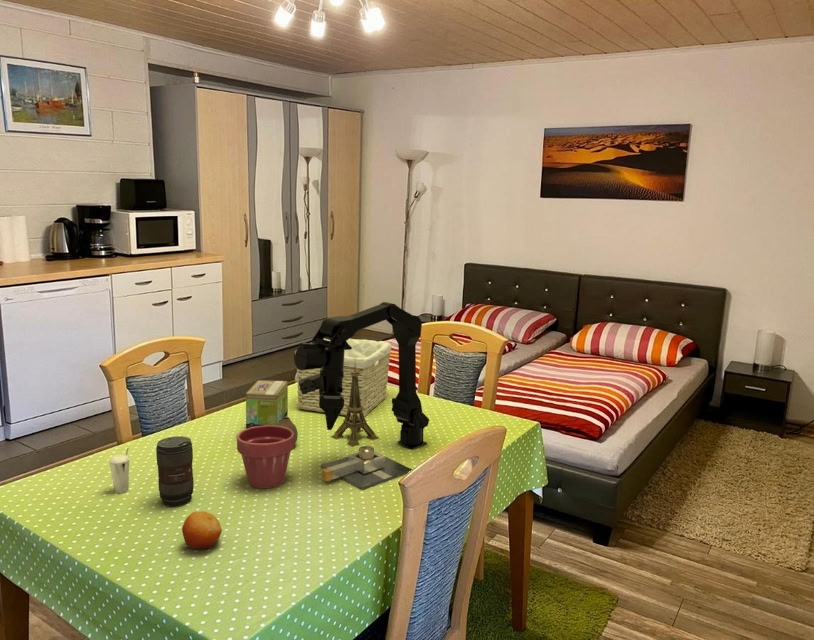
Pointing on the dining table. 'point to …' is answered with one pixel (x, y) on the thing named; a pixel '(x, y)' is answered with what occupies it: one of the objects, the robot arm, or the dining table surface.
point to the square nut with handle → (353, 466)
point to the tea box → (266, 403)
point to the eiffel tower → (354, 416)
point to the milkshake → (120, 472)
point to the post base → (373, 477)
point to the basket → (371, 380)
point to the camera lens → (175, 470)
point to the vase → (289, 426)
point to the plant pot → (265, 454)
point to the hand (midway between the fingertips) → (329, 424)
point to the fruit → (201, 530)
